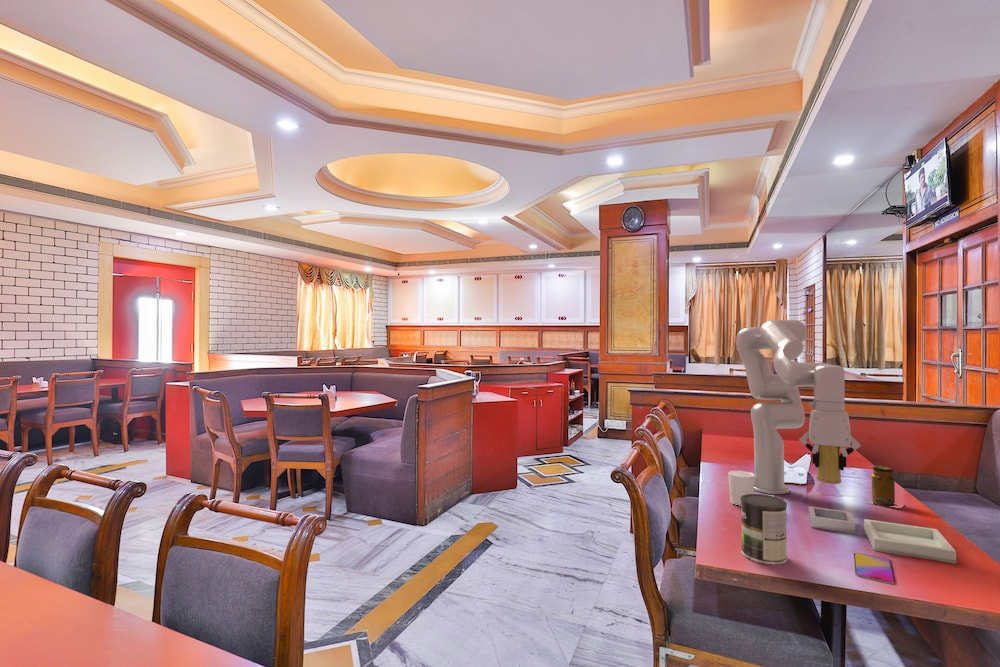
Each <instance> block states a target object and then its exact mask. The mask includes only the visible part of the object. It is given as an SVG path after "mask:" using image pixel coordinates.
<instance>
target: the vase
mask: <svg viewBox="0 0 1000 667" xmlns="http://www.w3.org/2000/svg"><path fill="white" fill-rule="evenodd" d="M817 452H818V468H817V467H816V473H817V474H816V480H817V481H818V482H822V483H824V484H829V485H830V484H832V485H833V484H834V485H837V484H841V483H842V480H841V479H842V478H841V469H840V454H841V452H840V447H833V446H821V445H820V446H819V448H818V450H817Z"/></svg>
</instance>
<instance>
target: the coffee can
mask: <svg viewBox="0 0 1000 667" xmlns="http://www.w3.org/2000/svg"><path fill="white" fill-rule="evenodd" d="M787 507H788V503H787V501H785V500H783V499H782V498H780V497H777V496H773V495H770V494H769V495H767V494H764V493H763V494H762V493H754V494H746V495H743V496H741V551H740V552H741V554H742V555H743V557H745V556H746V557H747V558H746V557H745V558H746V559H748V558H750V559H751V560H750V559H749V560H750V561H752V560H754V561H753V562H755V561H757V562H756V563H758V562H760V563H759V564H762V563H764V565H769V564H772V565H773V566H774V565H775V566H777V565H778V564H779V565H783V563H784V564H786V562H787V561H788V558H787V556H788V555H787ZM772 565H771V566H772ZM779 565H778V566H779Z"/></svg>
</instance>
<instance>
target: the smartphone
mask: <svg viewBox="0 0 1000 667" xmlns="http://www.w3.org/2000/svg"><path fill="white" fill-rule="evenodd" d="M853 561H854V573H855V576H856V577H858V578H861V579H866V580H871V581H874V582H879V583H883V584H884V583H885V584H889V585H895V584H896V578H895V574H894V570H893V565H892V562H891V560H890V559H888V558H886V557H885V558H884V557H880V556H876V555H871V554H865V553H859V552H854V553H853Z"/></svg>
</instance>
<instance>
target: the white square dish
mask: <svg viewBox="0 0 1000 667" xmlns="http://www.w3.org/2000/svg"><path fill="white" fill-rule="evenodd" d="M808 519H809V523H810V526H811V528H813V529H819V530H827V531H833V532H840V533H844V534H846V533H847V534H853V535H855V534H856V523H855V521H854V518H853V516H852V513H851V512H850V511H847V510H846V511H845V510H840V509H839V510H838V509H831V508H825V507H823V508H822V507H816V506H808Z"/></svg>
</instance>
